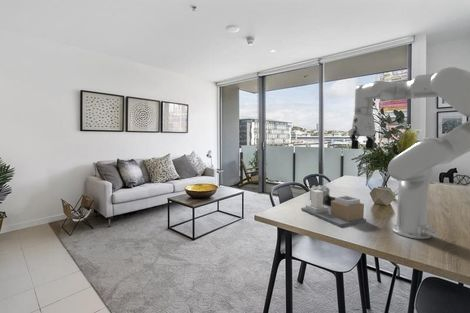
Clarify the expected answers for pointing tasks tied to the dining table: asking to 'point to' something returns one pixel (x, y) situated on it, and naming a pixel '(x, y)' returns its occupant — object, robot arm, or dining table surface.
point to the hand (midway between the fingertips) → (362, 148)
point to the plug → (317, 199)
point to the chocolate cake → (328, 200)
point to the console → (340, 211)
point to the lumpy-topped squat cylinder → (324, 189)
